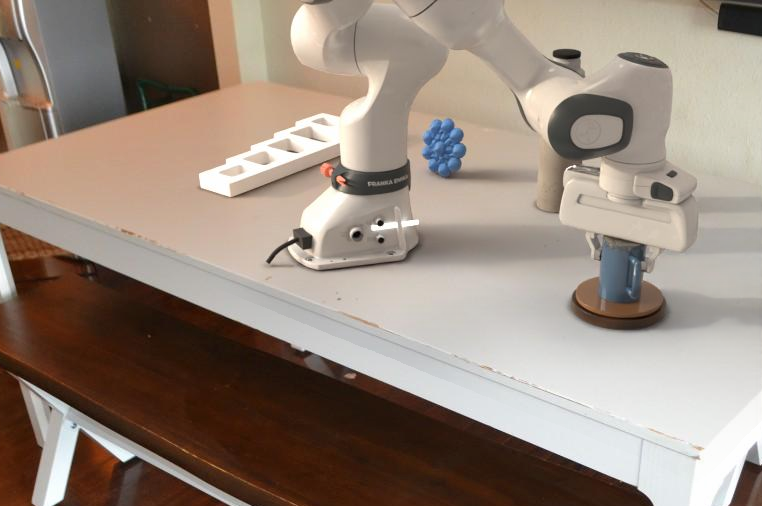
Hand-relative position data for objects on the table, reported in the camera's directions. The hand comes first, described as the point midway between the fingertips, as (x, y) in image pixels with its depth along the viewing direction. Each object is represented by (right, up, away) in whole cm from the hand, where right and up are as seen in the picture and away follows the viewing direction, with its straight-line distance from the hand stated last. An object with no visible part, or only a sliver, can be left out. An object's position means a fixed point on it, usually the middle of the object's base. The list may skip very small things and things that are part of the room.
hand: (621, 265), depth 145 cm
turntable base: (0, -6, +4) cm, 7 cm away
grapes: (-25, +25, +54) cm, 65 cm away
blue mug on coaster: (0, -5, +3) cm, 5 cm away
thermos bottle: (-5, +17, +40) cm, 43 cm away
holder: (-60, +31, +63) cm, 93 cm away
